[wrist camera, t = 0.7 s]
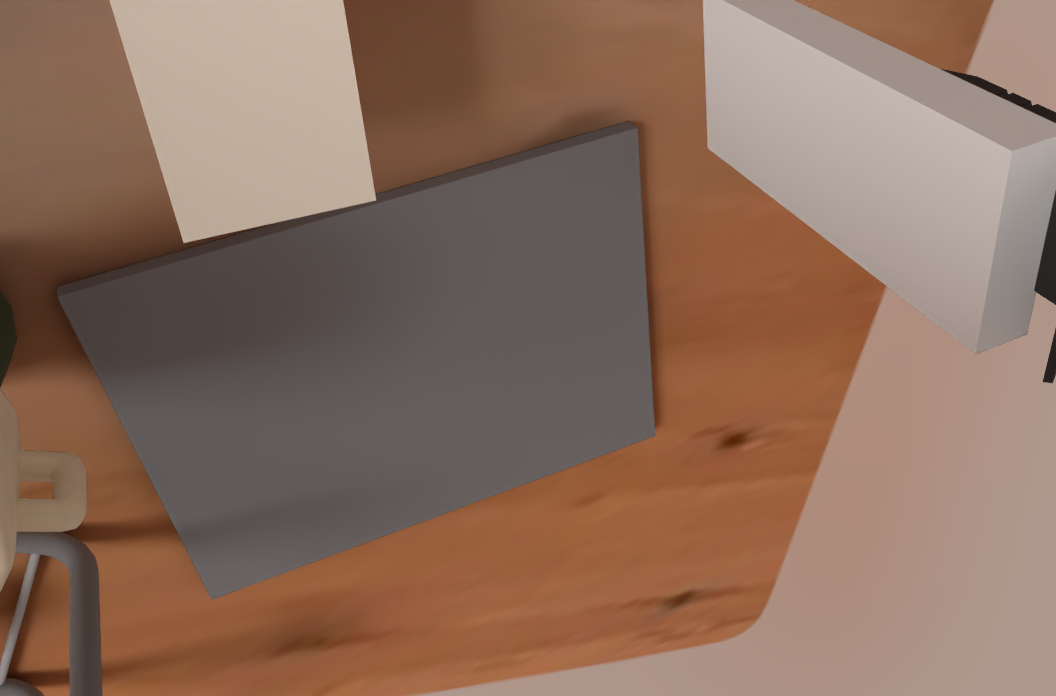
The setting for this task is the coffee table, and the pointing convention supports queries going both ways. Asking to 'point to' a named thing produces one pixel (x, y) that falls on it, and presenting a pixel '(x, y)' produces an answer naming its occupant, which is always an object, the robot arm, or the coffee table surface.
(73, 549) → the newton's cradle
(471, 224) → the rubber mat
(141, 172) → the coffee table surface
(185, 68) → the cream block
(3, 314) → the character mug
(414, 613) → the coffee table surface
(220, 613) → the coffee table surface
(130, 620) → the coffee table surface
